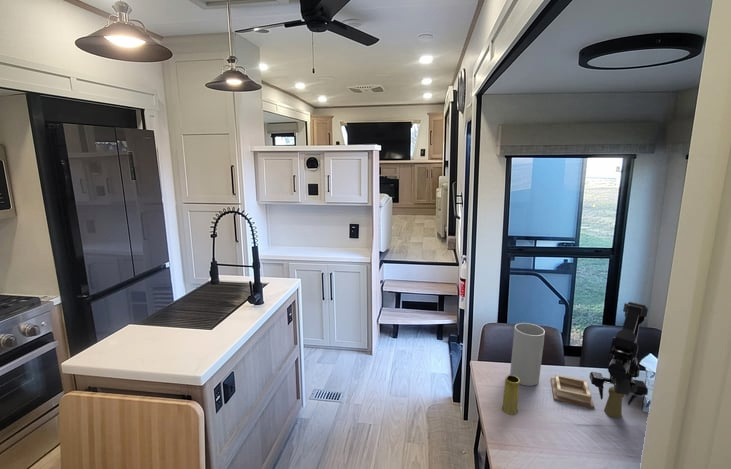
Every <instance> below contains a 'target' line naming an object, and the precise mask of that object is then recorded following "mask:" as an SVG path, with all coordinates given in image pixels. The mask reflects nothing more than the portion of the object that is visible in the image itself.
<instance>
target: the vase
mask: <svg viewBox="0 0 731 469" xmlns="http://www.w3.org/2000/svg"><path fill="white" fill-rule="evenodd" d="M519 382H520V380H519V378H518V377H516V376H513V375H510V374H509V375H506V377H505V380H504V390H503V396H502V406H501V411H502V412H503V413H505V414H507V415H509V416H514V415H516V414H518V404H519V403H518V402H519V391H520V390H519V388H520V384H519Z"/></svg>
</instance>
